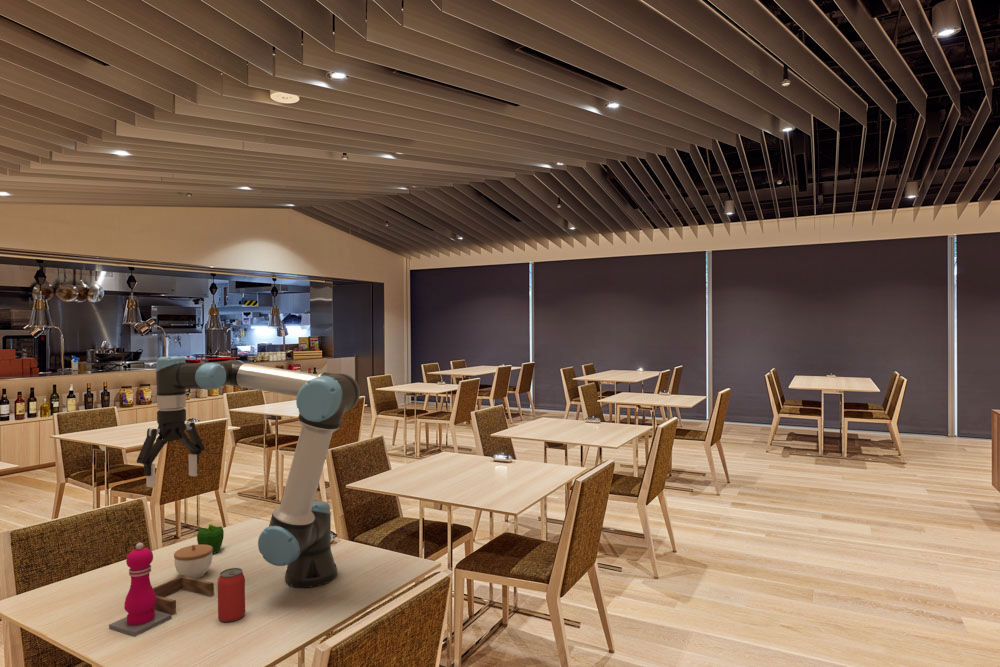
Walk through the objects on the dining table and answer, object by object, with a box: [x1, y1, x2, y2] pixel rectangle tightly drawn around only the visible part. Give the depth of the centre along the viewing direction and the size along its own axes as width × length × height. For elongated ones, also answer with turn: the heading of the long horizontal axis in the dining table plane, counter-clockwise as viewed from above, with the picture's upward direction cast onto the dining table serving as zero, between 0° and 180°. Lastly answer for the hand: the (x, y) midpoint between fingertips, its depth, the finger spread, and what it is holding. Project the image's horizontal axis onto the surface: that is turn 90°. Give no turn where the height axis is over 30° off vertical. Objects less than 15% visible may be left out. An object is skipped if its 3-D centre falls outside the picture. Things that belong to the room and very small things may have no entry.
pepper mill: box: [123, 542, 157, 625], centre depth 156 cm, size 7×7×20 cm
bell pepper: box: [196, 523, 225, 554], centre depth 206 cm, size 8×8×10 cm
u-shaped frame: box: [152, 575, 215, 616], centre depth 169 cm, size 13×13×4 cm
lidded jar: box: [173, 544, 213, 579], centre depth 186 cm, size 11×11×9 cm
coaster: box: [108, 610, 173, 637], centre depth 156 cm, size 10×10×1 cm
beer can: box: [217, 567, 246, 623], centre depth 159 cm, size 7×7×12 cm
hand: (172, 481), depth 176 cm, fingers open, 13 cm apart
